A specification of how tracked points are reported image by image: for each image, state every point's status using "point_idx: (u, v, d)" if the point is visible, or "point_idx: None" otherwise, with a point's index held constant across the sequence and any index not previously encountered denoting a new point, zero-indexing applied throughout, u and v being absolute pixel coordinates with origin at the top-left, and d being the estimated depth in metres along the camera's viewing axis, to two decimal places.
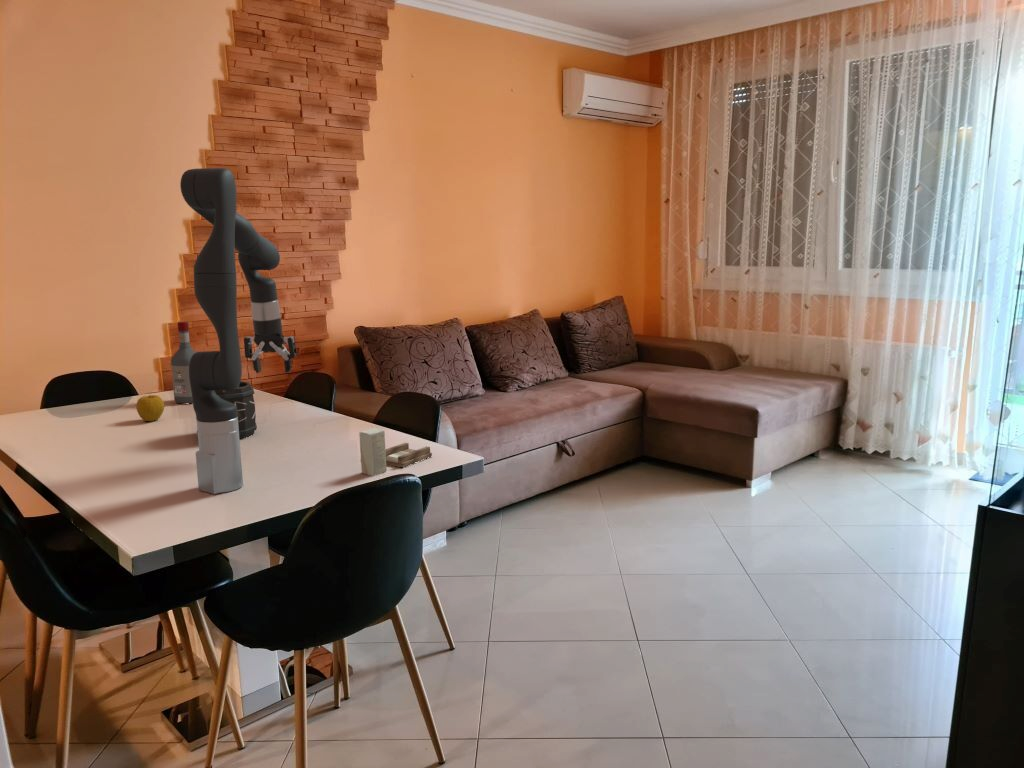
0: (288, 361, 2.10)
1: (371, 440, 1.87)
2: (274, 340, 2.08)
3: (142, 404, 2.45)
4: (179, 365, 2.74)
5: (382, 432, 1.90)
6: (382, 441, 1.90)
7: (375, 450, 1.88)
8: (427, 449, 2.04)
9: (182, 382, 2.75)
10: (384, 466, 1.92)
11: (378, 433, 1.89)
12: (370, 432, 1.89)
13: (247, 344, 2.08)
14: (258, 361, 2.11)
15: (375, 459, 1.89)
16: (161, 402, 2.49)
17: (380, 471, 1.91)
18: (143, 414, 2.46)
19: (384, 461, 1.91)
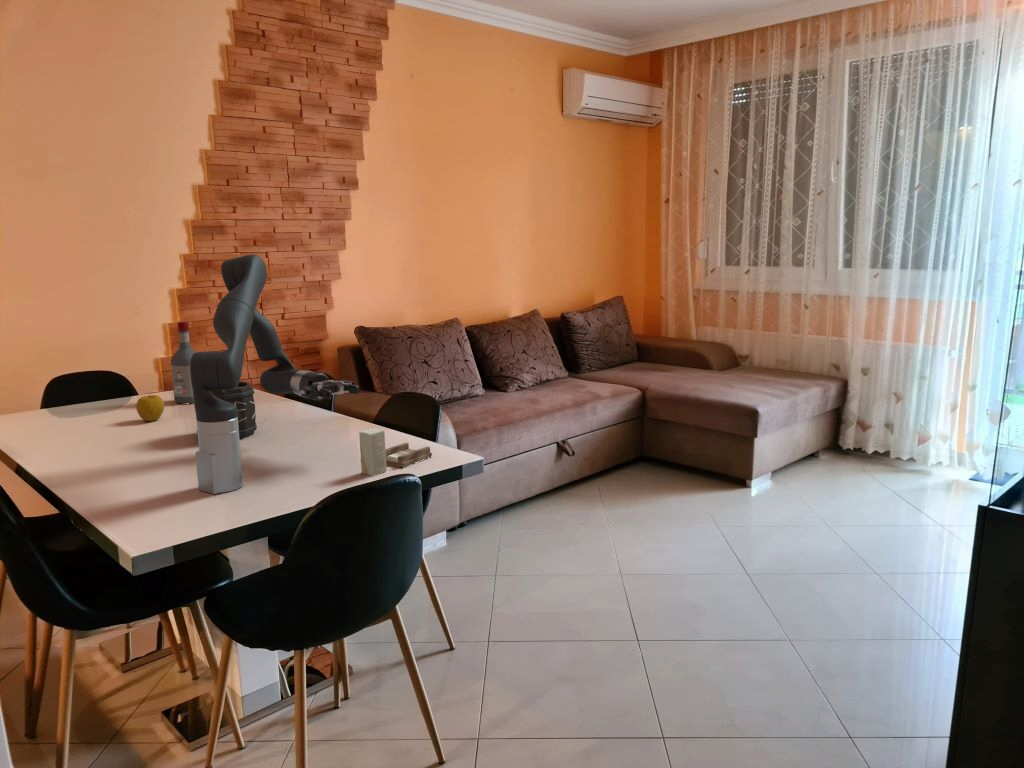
0: None
1: (371, 440, 1.87)
2: None
3: (142, 404, 2.45)
4: (179, 365, 2.74)
5: (382, 432, 1.90)
6: (382, 441, 1.90)
7: (375, 450, 1.89)
8: (427, 449, 2.04)
9: (182, 382, 2.75)
10: (384, 466, 1.92)
11: (378, 433, 1.89)
12: (370, 432, 1.89)
13: (306, 387, 1.97)
14: None
15: (375, 459, 1.89)
16: (161, 402, 2.49)
17: (380, 471, 1.91)
18: (143, 414, 2.46)
19: (384, 461, 1.91)
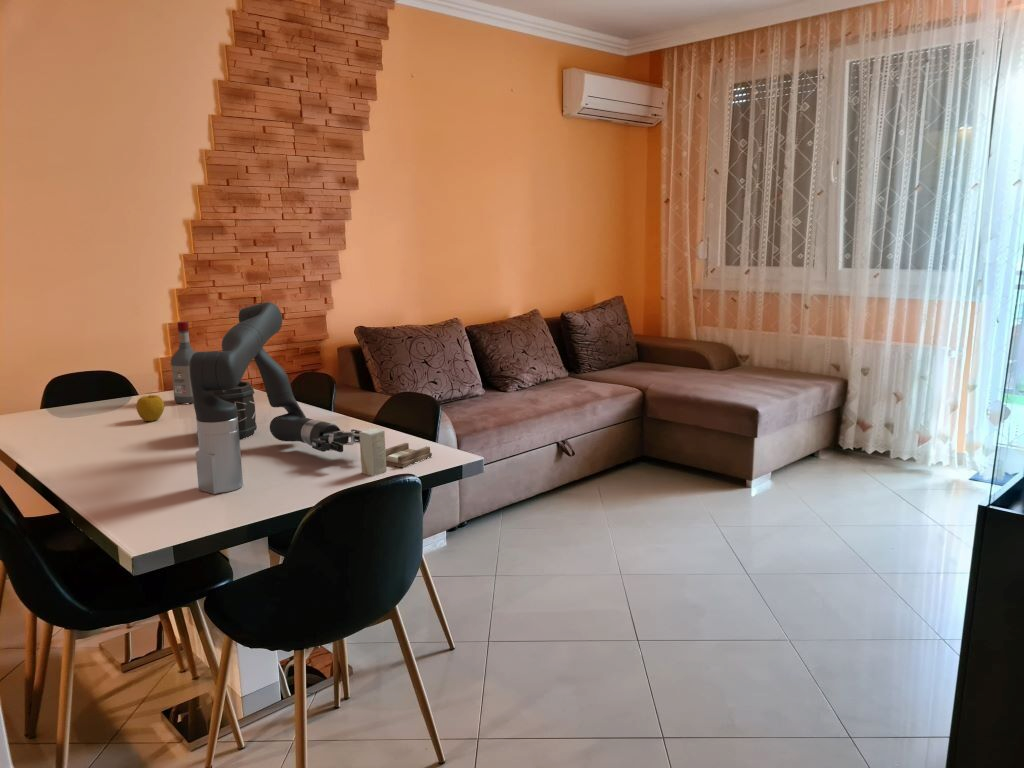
0: None
1: (371, 440, 1.87)
2: None
3: (142, 404, 2.45)
4: (179, 365, 2.74)
5: (382, 432, 1.90)
6: (382, 441, 1.90)
7: (375, 450, 1.89)
8: (427, 449, 2.04)
9: (182, 382, 2.75)
10: (384, 466, 1.92)
11: (378, 433, 1.89)
12: (370, 432, 1.89)
13: (317, 439, 1.97)
14: None
15: (375, 459, 1.89)
16: (161, 402, 2.49)
17: (380, 471, 1.91)
18: (143, 414, 2.46)
19: (384, 461, 1.91)
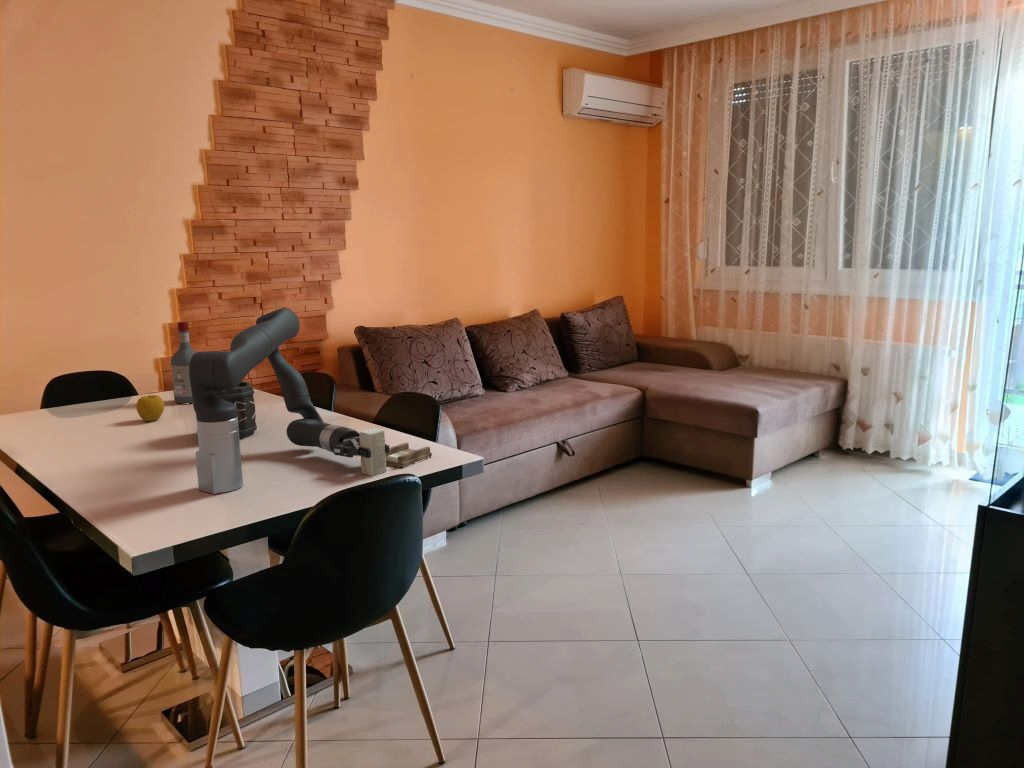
0: None
1: (371, 440, 1.87)
2: None
3: (143, 404, 2.45)
4: (179, 365, 2.74)
5: (382, 432, 1.90)
6: (382, 441, 1.90)
7: (375, 450, 1.88)
8: (427, 449, 2.04)
9: (182, 381, 2.75)
10: (384, 466, 1.92)
11: (378, 433, 1.89)
12: (369, 431, 1.89)
13: (341, 445, 1.90)
14: None
15: (375, 459, 1.89)
16: (161, 402, 2.49)
17: (380, 471, 1.91)
18: (143, 414, 2.46)
19: (384, 461, 1.91)
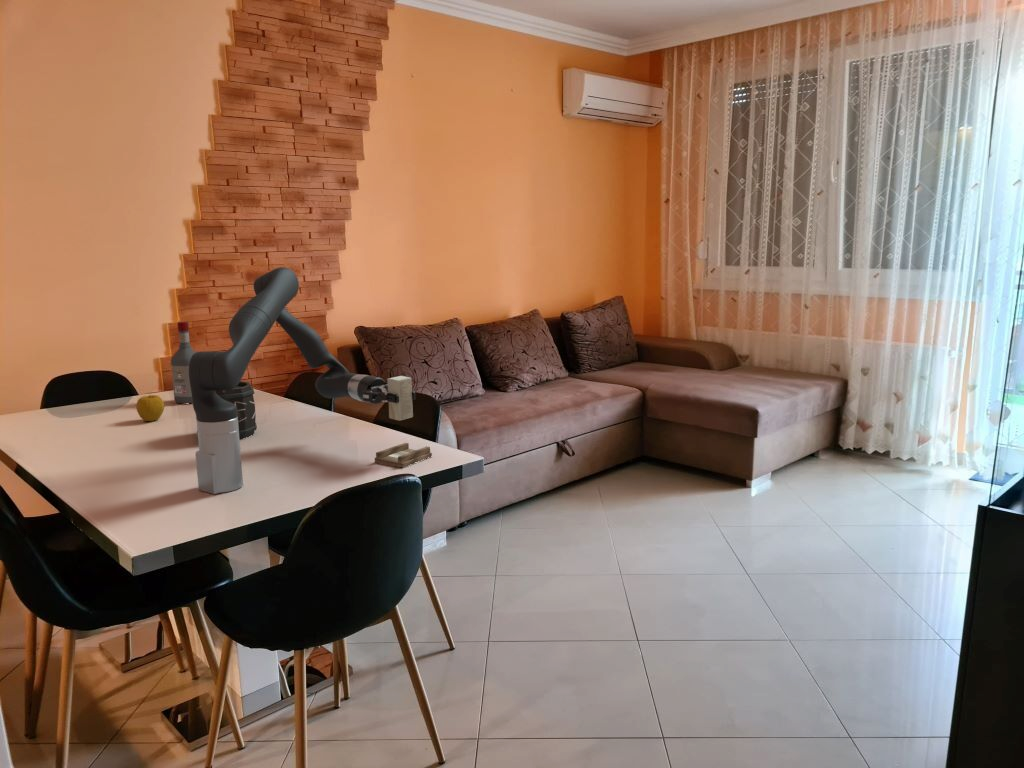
0: None
1: (399, 386, 1.96)
2: None
3: (143, 404, 2.45)
4: (179, 365, 2.74)
5: (409, 379, 1.99)
6: (409, 388, 1.99)
7: (402, 395, 1.97)
8: (427, 449, 2.04)
9: (182, 382, 2.75)
10: (411, 412, 2.01)
11: (405, 380, 1.98)
12: (397, 378, 1.98)
13: (370, 391, 1.99)
14: None
15: (402, 405, 1.98)
16: (161, 402, 2.49)
17: (407, 416, 2.00)
18: (143, 414, 2.46)
19: (411, 407, 2.00)
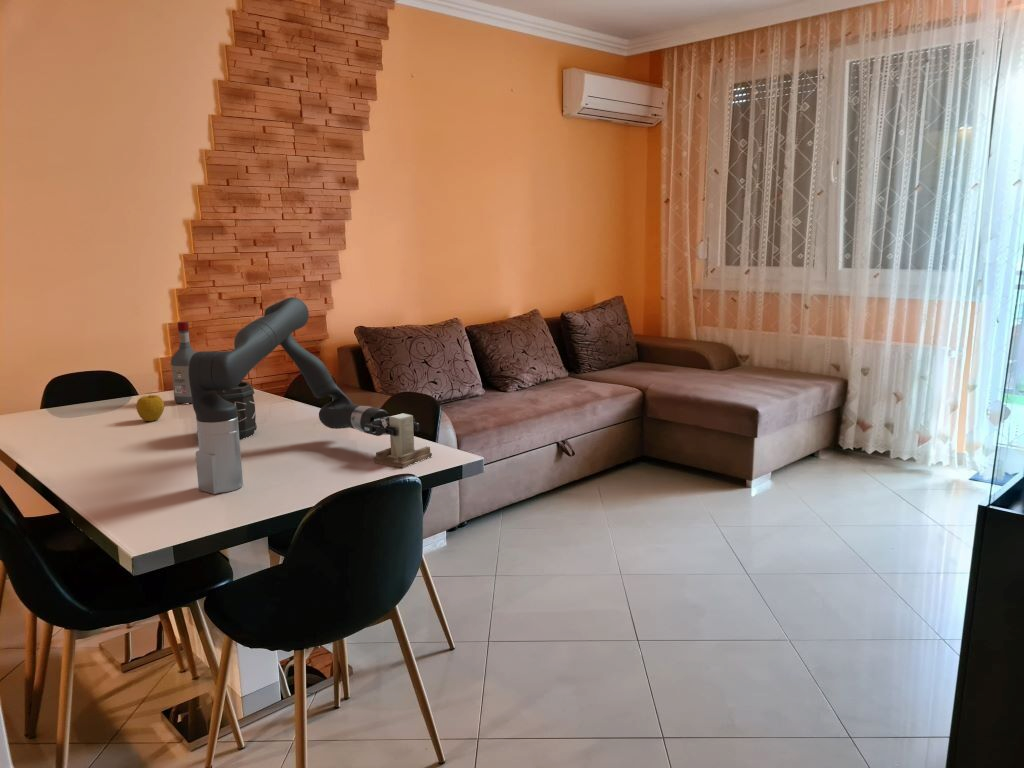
0: None
1: (400, 424, 1.98)
2: None
3: (142, 404, 2.45)
4: (179, 365, 2.74)
5: (410, 417, 2.01)
6: (411, 425, 2.01)
7: (404, 433, 1.99)
8: (427, 449, 2.04)
9: (182, 382, 2.75)
10: (412, 449, 2.02)
11: (407, 418, 1.99)
12: (399, 416, 2.00)
13: (370, 424, 2.01)
14: None
15: (404, 443, 2.00)
16: (161, 402, 2.49)
17: None
18: (143, 414, 2.46)
19: (412, 444, 2.02)
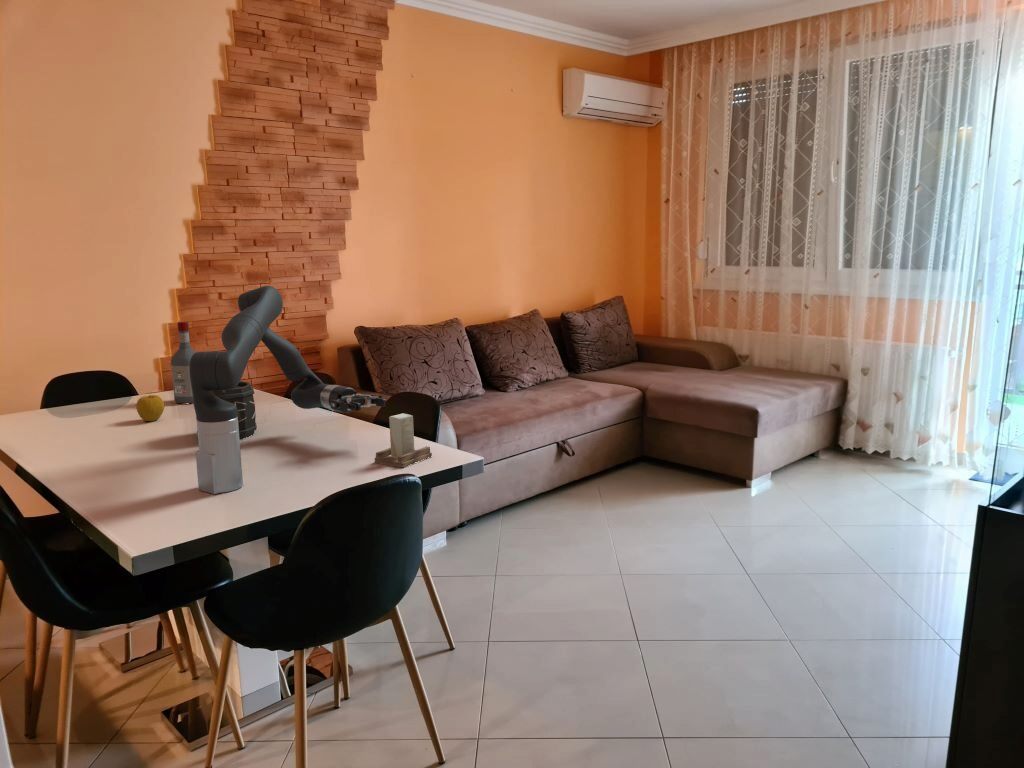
0: None
1: (400, 424, 1.98)
2: None
3: (142, 404, 2.45)
4: (179, 365, 2.74)
5: (410, 417, 2.00)
6: (411, 425, 2.01)
7: (404, 433, 1.99)
8: (427, 449, 2.04)
9: (182, 381, 2.75)
10: (412, 449, 2.02)
11: (407, 418, 1.99)
12: (399, 416, 2.00)
13: (336, 400, 2.08)
14: None
15: (404, 443, 2.00)
16: (161, 402, 2.49)
17: None
18: (143, 414, 2.46)
19: (412, 444, 2.02)
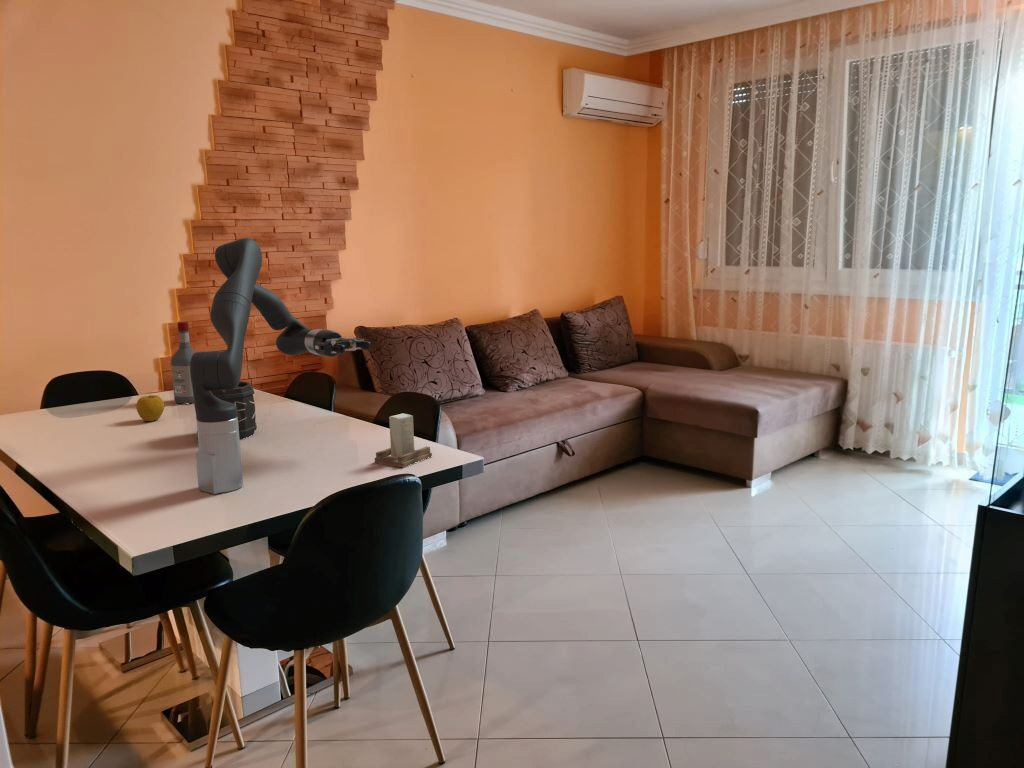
0: None
1: (400, 424, 1.98)
2: None
3: (143, 404, 2.45)
4: (179, 365, 2.74)
5: (410, 417, 2.00)
6: (411, 425, 2.01)
7: (404, 433, 1.99)
8: (427, 449, 2.04)
9: (182, 382, 2.75)
10: (412, 449, 2.02)
11: (407, 418, 1.99)
12: (399, 416, 2.00)
13: (320, 343, 2.05)
14: None
15: (404, 443, 2.00)
16: (161, 402, 2.49)
17: None
18: (143, 414, 2.46)
19: (412, 444, 2.02)
